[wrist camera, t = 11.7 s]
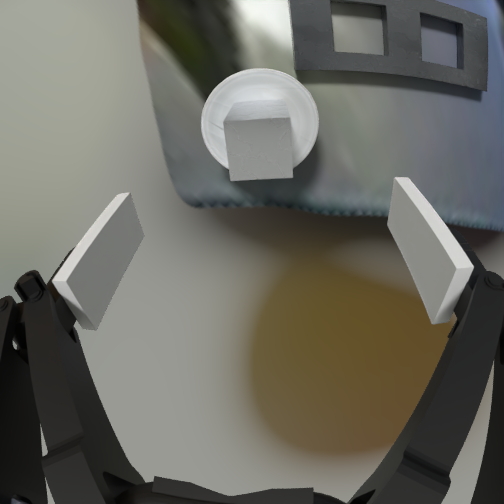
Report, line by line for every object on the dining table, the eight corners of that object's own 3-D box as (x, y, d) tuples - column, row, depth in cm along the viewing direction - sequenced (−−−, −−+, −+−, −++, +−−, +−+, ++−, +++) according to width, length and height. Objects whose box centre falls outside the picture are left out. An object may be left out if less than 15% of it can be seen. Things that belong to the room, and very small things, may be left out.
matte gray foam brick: (283, 99, 25) (290, 117, 19) (286, 144, 28) (292, 177, 21) (234, 102, 25) (223, 122, 19) (239, 147, 28) (230, 181, 22)
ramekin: (211, 160, 34) (203, 178, 30) (208, 66, 28) (197, 70, 23) (307, 162, 34) (313, 181, 30) (314, 69, 27) (323, 72, 23)
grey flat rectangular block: (479, 17, 19) (486, 18, 18) (479, 89, 25) (486, 91, 24) (286, -16, 21) (287, -19, 20) (294, 69, 27) (295, 70, 26)
